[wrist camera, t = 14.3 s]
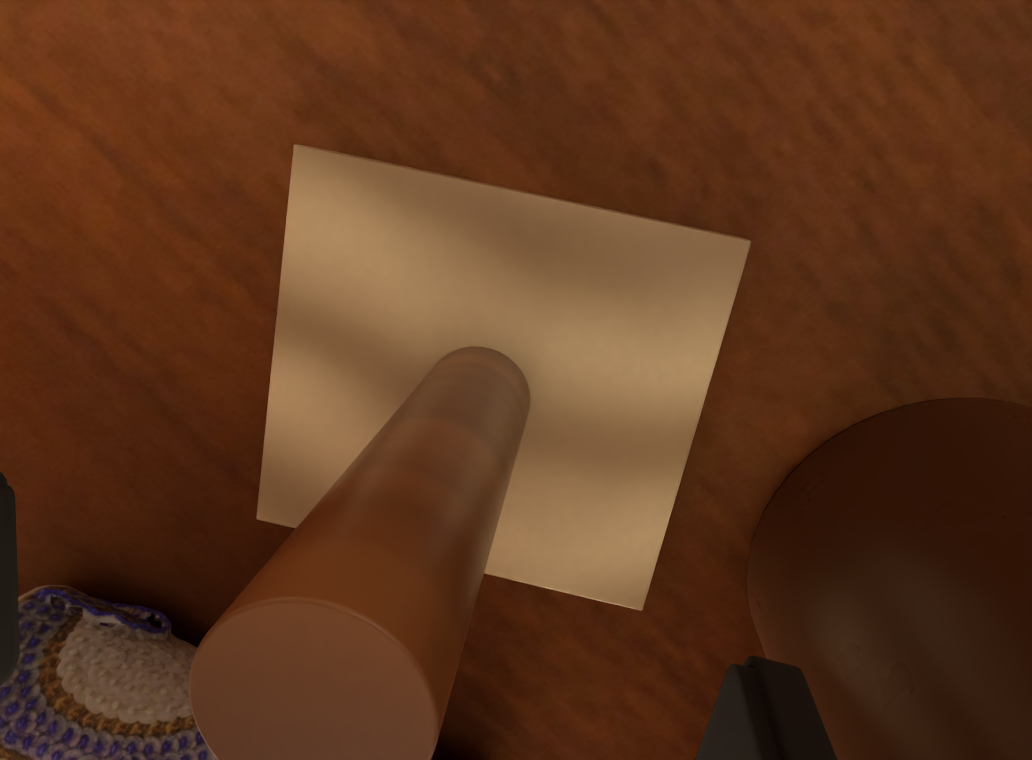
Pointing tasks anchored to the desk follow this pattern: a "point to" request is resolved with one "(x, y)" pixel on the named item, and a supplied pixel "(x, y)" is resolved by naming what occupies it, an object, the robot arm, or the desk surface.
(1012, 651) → the tin
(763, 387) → the desk surface
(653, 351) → the board
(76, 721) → the decorative bottle
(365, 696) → the stick
